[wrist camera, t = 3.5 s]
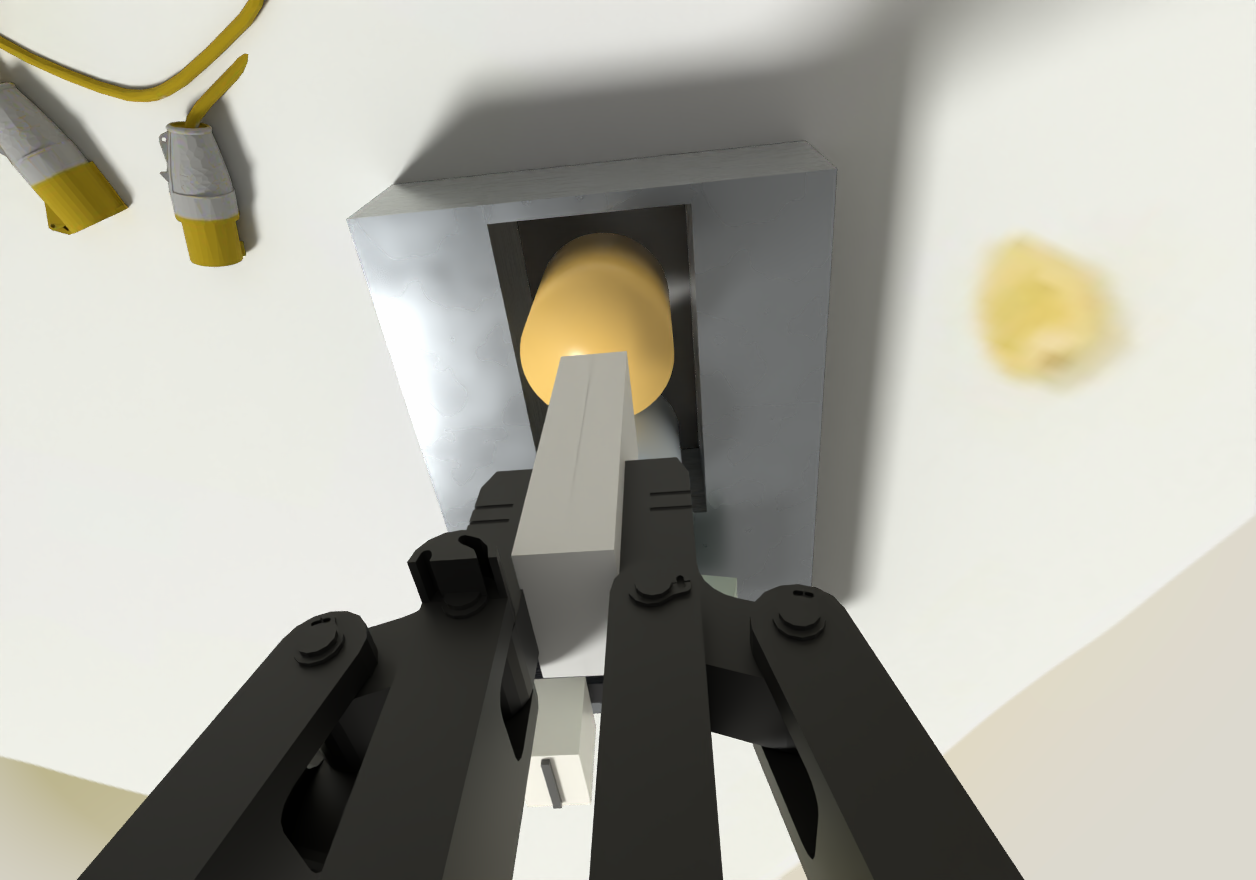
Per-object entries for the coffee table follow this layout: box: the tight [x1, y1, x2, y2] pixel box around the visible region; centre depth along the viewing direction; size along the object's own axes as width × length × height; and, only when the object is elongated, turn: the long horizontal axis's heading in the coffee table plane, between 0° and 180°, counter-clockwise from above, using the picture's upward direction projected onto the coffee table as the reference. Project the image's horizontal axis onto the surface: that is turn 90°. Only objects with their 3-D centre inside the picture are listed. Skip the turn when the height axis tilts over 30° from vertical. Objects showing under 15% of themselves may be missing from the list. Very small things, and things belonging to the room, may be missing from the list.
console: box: [346, 141, 837, 714], centre depth 25 cm, size 22×13×5 cm, turn 6°
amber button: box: [520, 233, 674, 415], centre depth 19 cm, size 4×4×4 cm
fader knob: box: [525, 677, 596, 808], centre depth 26 cm, size 3×2×3 cm
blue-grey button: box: [634, 395, 682, 463], centre depth 22 cm, size 4×4×4 cm
